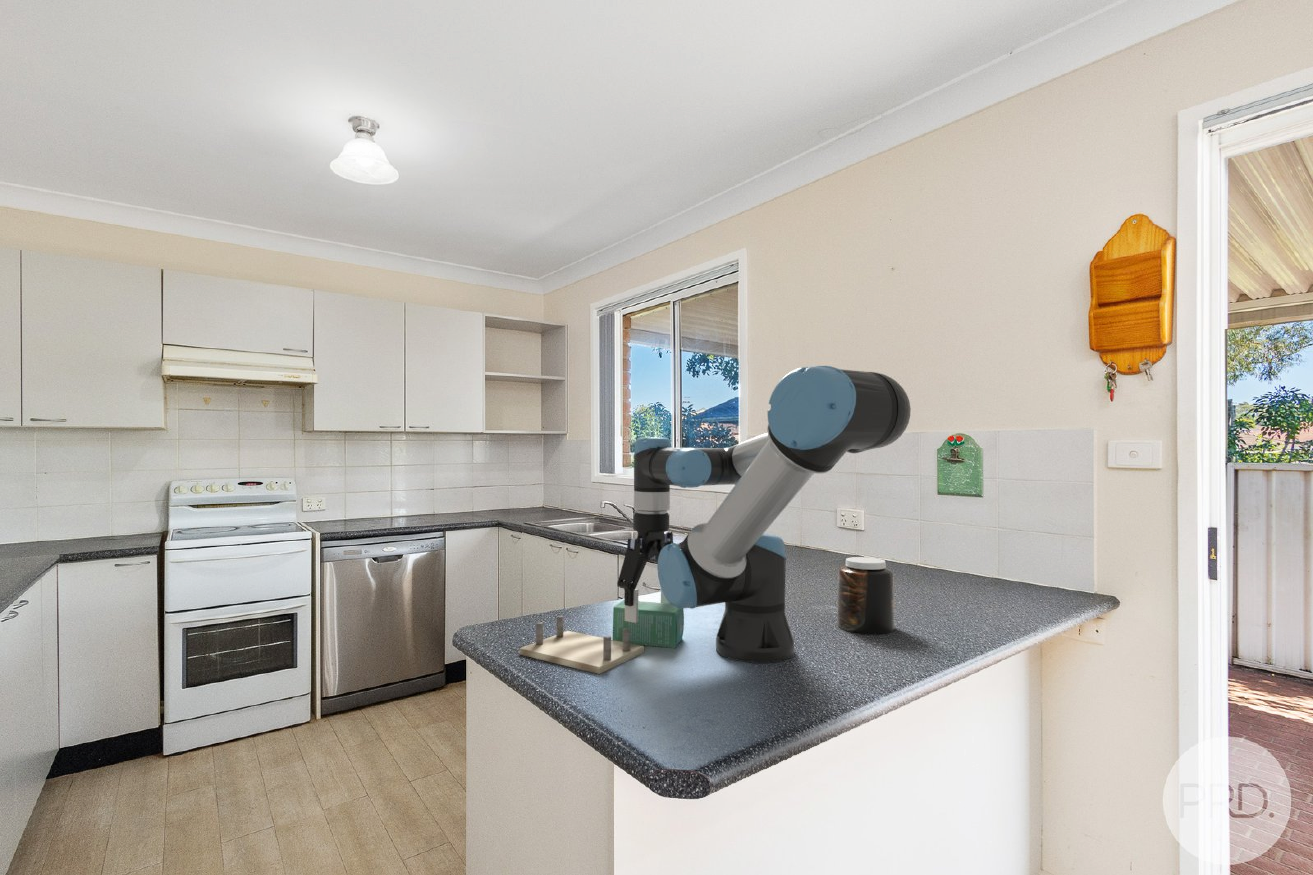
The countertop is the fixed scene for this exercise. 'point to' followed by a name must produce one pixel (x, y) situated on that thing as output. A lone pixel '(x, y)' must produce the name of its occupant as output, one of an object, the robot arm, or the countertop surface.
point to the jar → (866, 596)
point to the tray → (581, 649)
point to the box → (650, 624)
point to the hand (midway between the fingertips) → (649, 614)
